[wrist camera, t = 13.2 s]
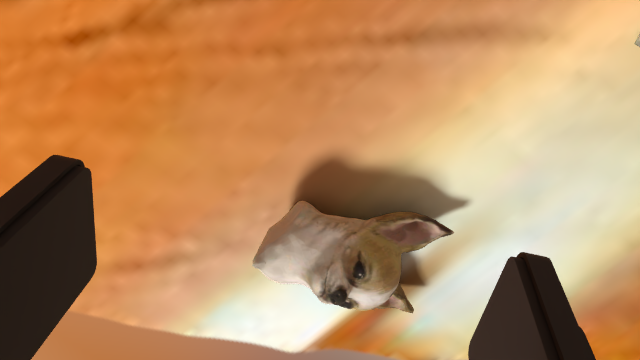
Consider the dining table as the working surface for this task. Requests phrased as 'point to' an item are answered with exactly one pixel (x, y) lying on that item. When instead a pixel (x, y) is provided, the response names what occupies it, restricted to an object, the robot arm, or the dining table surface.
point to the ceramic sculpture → (345, 255)
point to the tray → (638, 41)
